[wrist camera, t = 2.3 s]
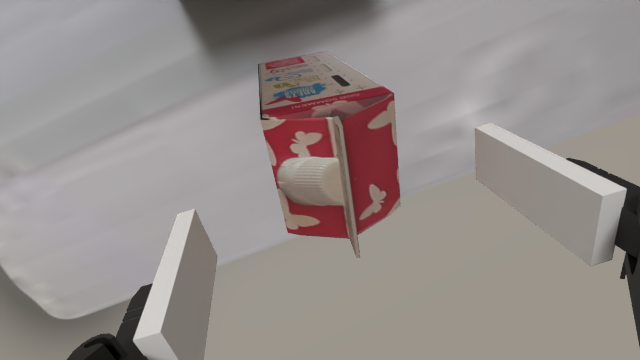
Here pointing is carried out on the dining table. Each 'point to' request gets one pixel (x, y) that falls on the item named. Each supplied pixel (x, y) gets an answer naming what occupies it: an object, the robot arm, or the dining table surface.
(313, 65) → the juice carton
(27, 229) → the dining table surface
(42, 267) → the dining table surface
